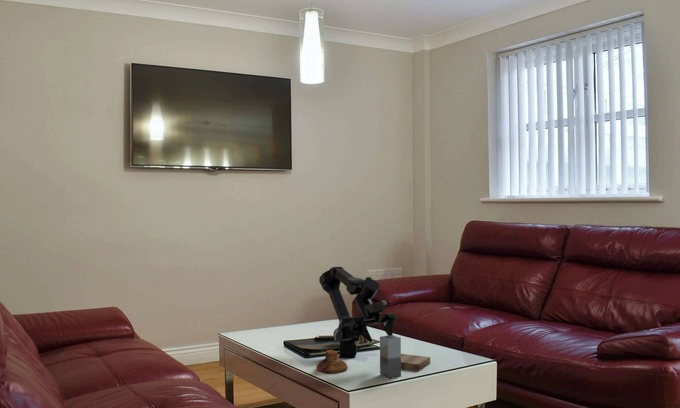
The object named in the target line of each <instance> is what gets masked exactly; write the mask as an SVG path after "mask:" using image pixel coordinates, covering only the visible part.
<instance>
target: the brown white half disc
mask: <svg viewBox="0 0 680 408" xmlns="http://www.w3.org/2000/svg"><path fill="white" fill-rule="evenodd" d="M337 332H338V327H337V328H335V329H334V330H333V340H334V342H335V341H336V338H335V335H336V334H337ZM365 341H366V339H365V338H364V337H363V336H361V335H360V337H359V341H355V343H356V344H363V345H364V343H365Z"/></svg>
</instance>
